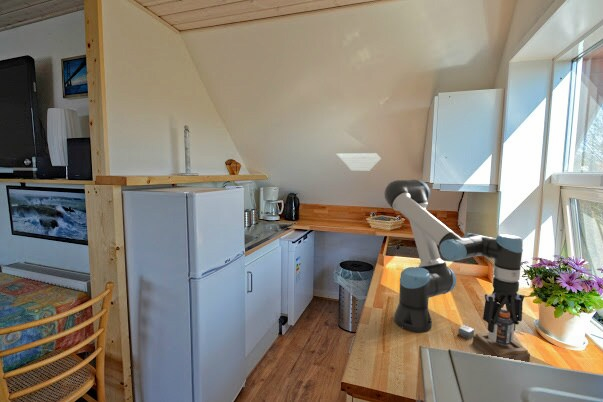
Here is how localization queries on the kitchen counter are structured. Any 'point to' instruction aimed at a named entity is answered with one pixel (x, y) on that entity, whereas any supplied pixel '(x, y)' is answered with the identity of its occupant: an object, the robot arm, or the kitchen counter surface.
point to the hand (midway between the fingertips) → (500, 339)
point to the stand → (500, 348)
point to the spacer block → (466, 331)
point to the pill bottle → (504, 328)
